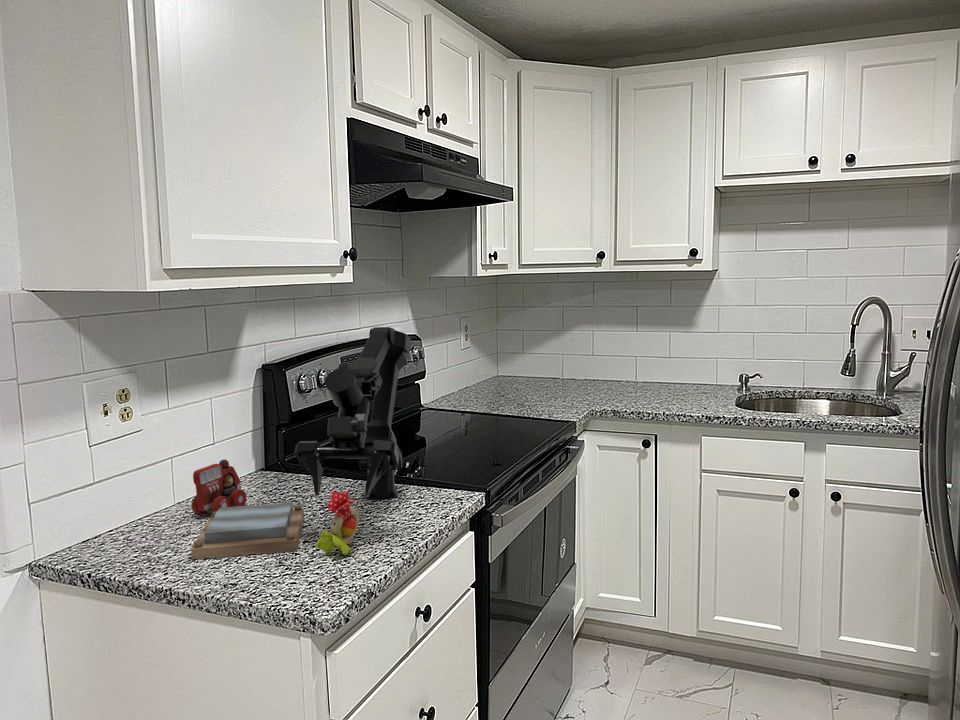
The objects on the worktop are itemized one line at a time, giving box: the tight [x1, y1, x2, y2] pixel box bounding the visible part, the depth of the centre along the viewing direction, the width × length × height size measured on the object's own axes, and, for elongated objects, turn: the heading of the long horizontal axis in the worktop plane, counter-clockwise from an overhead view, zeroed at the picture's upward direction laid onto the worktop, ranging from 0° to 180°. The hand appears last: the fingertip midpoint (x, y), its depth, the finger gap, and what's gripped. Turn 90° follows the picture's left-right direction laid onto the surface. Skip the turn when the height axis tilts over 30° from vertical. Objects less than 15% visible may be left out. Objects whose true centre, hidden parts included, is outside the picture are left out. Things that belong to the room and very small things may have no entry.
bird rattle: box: [314, 490, 360, 556], centre depth 133 cm, size 6×11×9 cm
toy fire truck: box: [191, 459, 247, 515], centre depth 156 cm, size 7×12×10 cm, turn 158°
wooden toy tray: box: [190, 501, 305, 561], centre depth 140 cm, size 18×18×4 cm
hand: (341, 494), depth 134 cm, fingers open, 9 cm apart
